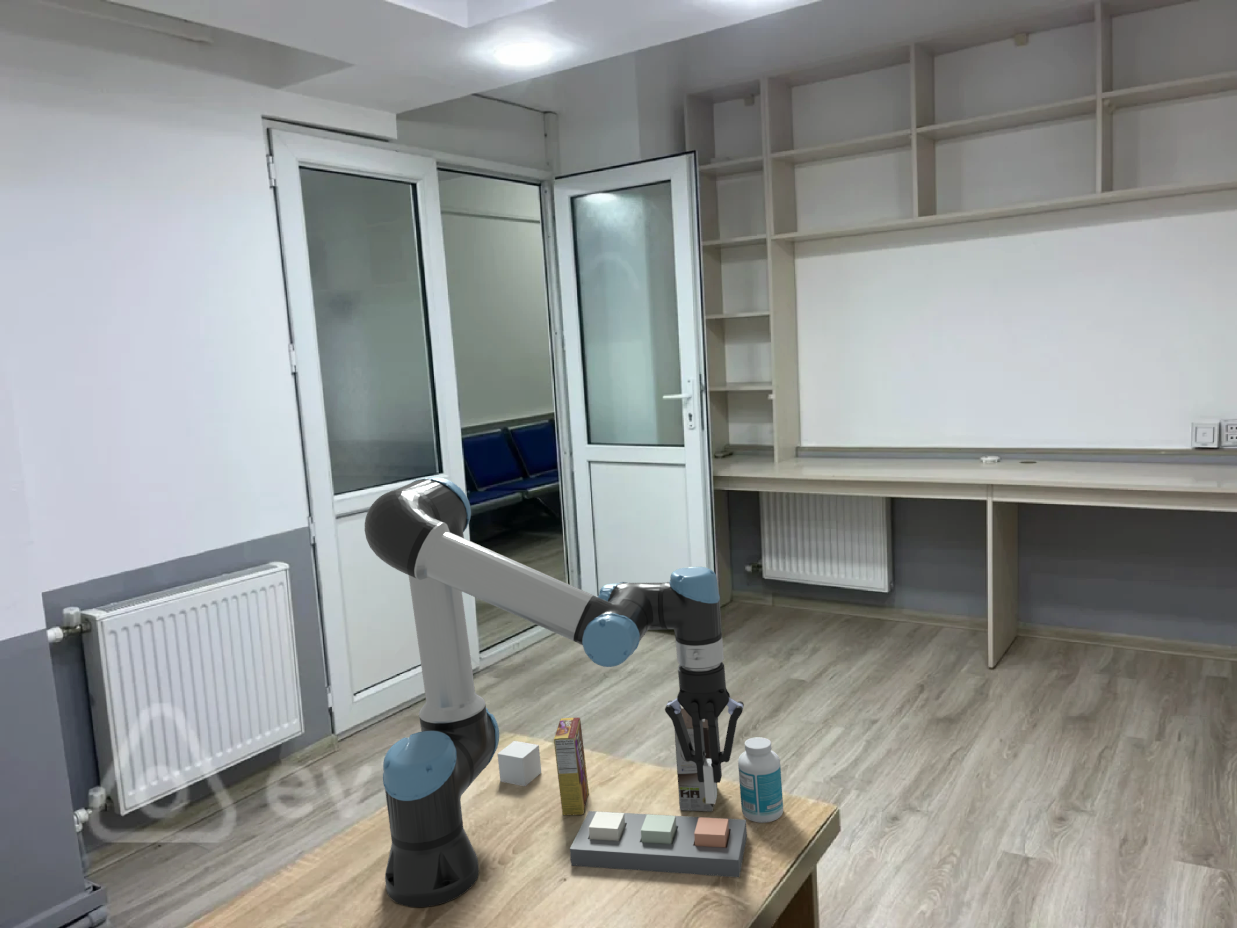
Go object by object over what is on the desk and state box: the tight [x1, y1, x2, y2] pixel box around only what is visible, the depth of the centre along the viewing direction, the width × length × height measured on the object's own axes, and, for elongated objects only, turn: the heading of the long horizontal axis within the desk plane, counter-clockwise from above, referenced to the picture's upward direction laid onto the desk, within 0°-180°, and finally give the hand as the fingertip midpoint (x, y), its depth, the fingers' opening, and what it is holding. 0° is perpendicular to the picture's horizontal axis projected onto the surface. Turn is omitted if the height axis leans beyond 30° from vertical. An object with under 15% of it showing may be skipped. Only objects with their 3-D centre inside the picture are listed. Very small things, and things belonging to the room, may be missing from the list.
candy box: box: [553, 717, 590, 816], centre depth 172 cm, size 9×4×15 cm, turn 175°
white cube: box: [497, 740, 542, 787], centre depth 185 cm, size 6×6×6 cm
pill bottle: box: [737, 736, 784, 824], centre depth 164 cm, size 8×7×14 cm
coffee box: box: [673, 707, 718, 812], centre depth 170 cm, size 9×6×16 cm
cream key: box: [589, 811, 625, 841], centre depth 157 cm, size 5×5×3 cm
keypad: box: [569, 810, 748, 878], centre depth 155 cm, size 28×12×3 cm, turn 76°
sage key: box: [641, 813, 677, 844], centre depth 155 cm, size 5×5×3 cm
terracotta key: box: [694, 816, 729, 848], centre depth 153 cm, size 5×5×3 cm
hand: (711, 799), depth 152 cm, fingers closed
